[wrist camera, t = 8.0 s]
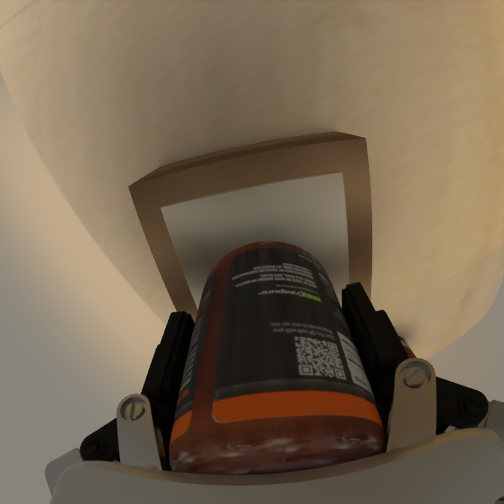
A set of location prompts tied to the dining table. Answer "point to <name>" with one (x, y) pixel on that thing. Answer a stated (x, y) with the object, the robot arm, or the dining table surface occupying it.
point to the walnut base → (260, 209)
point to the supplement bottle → (272, 372)
